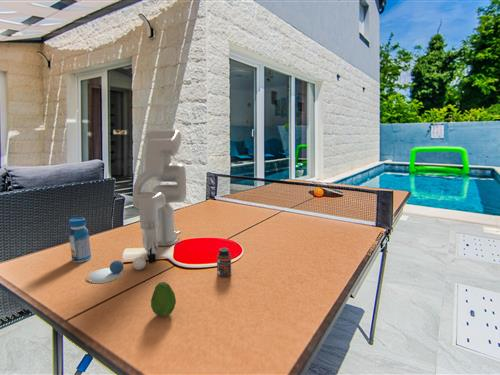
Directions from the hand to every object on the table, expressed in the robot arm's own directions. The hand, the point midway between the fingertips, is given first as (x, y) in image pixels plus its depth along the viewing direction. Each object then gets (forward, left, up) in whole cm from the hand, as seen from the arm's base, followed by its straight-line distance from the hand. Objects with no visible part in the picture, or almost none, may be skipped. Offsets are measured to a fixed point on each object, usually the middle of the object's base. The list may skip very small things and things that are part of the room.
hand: (152, 262), depth 146 cm
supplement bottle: (-10, +34, -2) cm, 35 cm away
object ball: (+13, -7, +1) cm, 15 cm away
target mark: (+17, -10, -2) cm, 20 cm away
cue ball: (+5, -2, +1) cm, 6 cm away
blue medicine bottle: (+12, -34, -2) cm, 37 cm away
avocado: (+24, +34, -2) cm, 42 cm away
